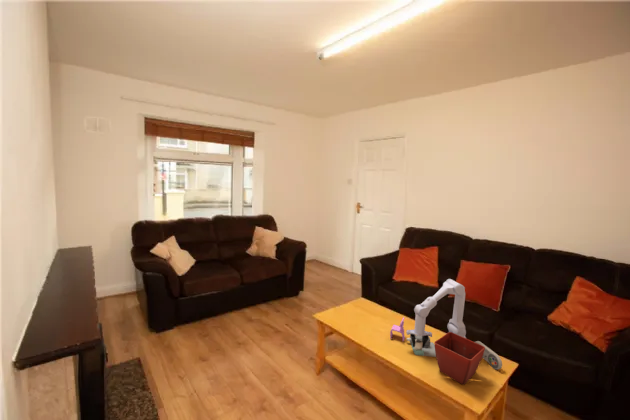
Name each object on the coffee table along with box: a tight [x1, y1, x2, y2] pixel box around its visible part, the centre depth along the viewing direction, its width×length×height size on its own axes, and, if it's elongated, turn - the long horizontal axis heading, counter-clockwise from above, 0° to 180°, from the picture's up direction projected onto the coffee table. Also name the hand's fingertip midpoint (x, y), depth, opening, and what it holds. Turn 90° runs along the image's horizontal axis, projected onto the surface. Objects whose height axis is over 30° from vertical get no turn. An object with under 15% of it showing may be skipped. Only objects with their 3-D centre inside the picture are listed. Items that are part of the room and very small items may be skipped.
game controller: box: [474, 340, 503, 370], centre depth 164 cm, size 20×2×8 cm, turn 11°
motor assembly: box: [406, 334, 436, 358], centre depth 173 cm, size 17×15×6 cm
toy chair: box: [389, 317, 406, 342], centre depth 183 cm, size 8×9×15 cm
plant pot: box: [433, 331, 485, 385], centre depth 152 cm, size 19×19×17 cm
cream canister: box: [414, 339, 423, 350], centre depth 169 cm, size 5×5×6 cm
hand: (418, 346), depth 170 cm, fingers closed on cream canister, 5 cm apart
